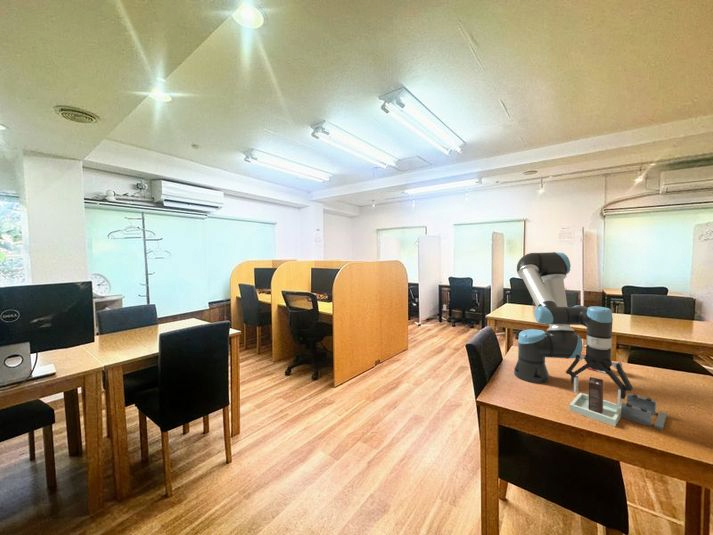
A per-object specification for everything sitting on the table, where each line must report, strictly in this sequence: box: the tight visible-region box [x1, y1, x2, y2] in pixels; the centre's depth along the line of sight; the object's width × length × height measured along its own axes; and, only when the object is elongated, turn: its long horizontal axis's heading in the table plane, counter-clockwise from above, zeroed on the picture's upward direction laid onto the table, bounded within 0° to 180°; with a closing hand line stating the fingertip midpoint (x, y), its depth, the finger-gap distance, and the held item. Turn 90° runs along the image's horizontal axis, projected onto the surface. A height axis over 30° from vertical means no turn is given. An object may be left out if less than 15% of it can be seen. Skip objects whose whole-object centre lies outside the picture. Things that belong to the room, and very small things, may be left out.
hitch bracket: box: [621, 392, 668, 431], centre depth 110 cm, size 11×13×6 cm
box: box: [587, 376, 604, 414], centre depth 114 cm, size 6×4×12 cm
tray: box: [568, 392, 622, 427], centre depth 115 cm, size 14×14×3 cm
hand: (596, 398), depth 114 cm, fingers open, 13 cm apart
